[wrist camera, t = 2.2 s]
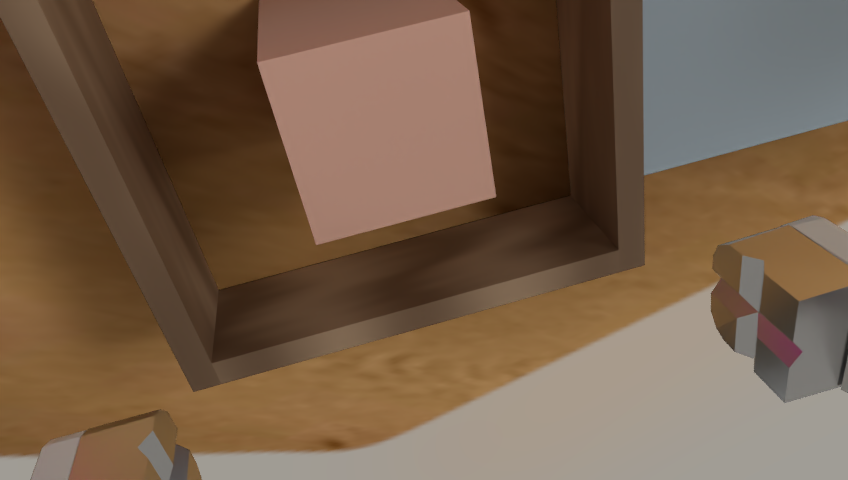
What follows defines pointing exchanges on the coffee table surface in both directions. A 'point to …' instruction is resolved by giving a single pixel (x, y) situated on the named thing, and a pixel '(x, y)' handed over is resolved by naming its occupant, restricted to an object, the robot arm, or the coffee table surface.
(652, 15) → the mat
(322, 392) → the coffee table surface
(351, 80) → the block
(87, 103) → the wooden frame
